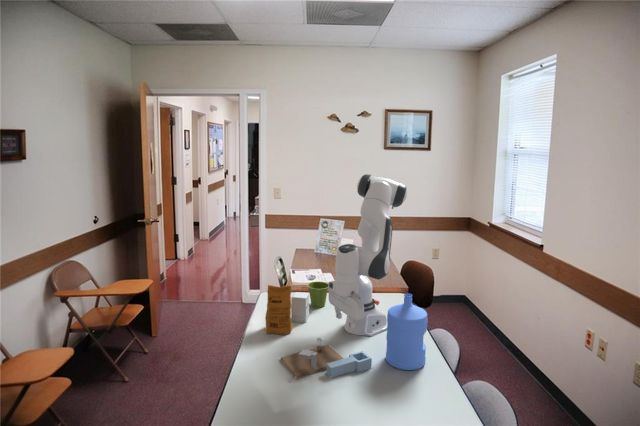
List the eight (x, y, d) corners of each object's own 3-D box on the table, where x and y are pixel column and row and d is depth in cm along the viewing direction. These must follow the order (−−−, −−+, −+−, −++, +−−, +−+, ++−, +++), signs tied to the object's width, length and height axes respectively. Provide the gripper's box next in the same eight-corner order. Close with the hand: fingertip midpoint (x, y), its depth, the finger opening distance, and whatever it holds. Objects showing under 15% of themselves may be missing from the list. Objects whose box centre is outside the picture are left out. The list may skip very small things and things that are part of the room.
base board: (327, 347, 184) (327, 344, 184) (346, 363, 171) (346, 360, 171) (280, 360, 174) (280, 357, 174) (296, 378, 161) (296, 375, 161)
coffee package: (267, 325, 205) (266, 281, 201) (293, 326, 204) (293, 281, 200) (263, 335, 195) (262, 288, 191) (291, 335, 194) (290, 289, 190)
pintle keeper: (315, 349, 180) (315, 336, 179) (329, 352, 177) (329, 339, 176) (298, 367, 166) (298, 353, 165) (314, 371, 163) (314, 357, 162)
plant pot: (329, 309, 223) (329, 289, 220) (306, 309, 223) (306, 289, 221) (329, 301, 234) (329, 281, 232) (307, 300, 234) (307, 281, 232)
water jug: (402, 375, 163) (404, 305, 158) (378, 356, 177) (380, 291, 172) (433, 365, 170) (437, 298, 165) (408, 347, 184) (411, 285, 179)
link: (362, 360, 174) (362, 350, 173) (371, 367, 168) (371, 358, 168) (324, 371, 166) (324, 361, 165) (333, 379, 160) (333, 369, 159)
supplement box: (306, 323, 207) (305, 298, 205) (291, 321, 209) (290, 297, 206) (309, 316, 214) (309, 292, 212) (295, 315, 216) (294, 291, 213)
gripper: (369, 295, 154) (367, 331, 156) (339, 278, 172) (338, 311, 174) (354, 298, 151) (353, 335, 153) (325, 281, 169) (325, 314, 171)
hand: (345, 322), depth 164 cm, fingers open, 8 cm apart
